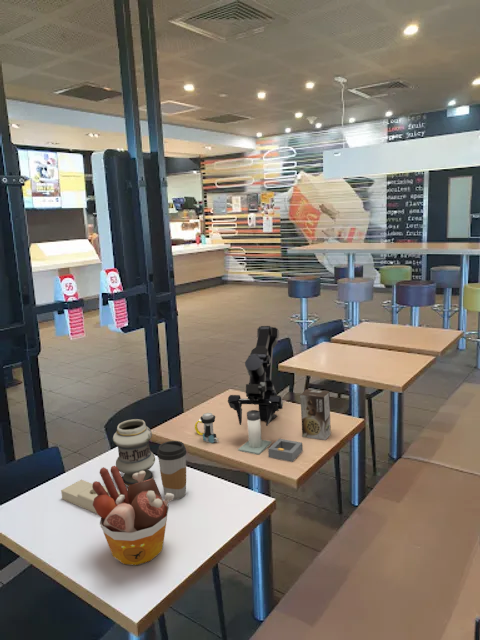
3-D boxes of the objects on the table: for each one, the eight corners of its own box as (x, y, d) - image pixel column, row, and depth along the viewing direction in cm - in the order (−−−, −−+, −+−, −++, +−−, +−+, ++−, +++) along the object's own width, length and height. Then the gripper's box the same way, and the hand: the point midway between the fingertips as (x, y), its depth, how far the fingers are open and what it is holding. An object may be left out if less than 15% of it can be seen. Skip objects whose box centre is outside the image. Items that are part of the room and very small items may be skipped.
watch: (211, 434, 188) (211, 419, 186) (208, 437, 185) (208, 422, 184) (197, 431, 190) (197, 416, 189) (193, 434, 188) (193, 419, 186)
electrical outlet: (80, 476, 153) (121, 491, 142) (82, 489, 153) (123, 505, 143) (60, 487, 147) (101, 504, 137) (62, 500, 148) (103, 517, 137)
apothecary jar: (110, 479, 157) (104, 425, 154) (142, 465, 166) (137, 413, 162) (131, 492, 149) (125, 435, 146) (164, 476, 157) (159, 422, 154)
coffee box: (331, 433, 182) (330, 391, 179) (325, 440, 176) (324, 396, 173) (307, 430, 186) (306, 388, 183) (301, 436, 181) (299, 394, 178)
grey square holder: (279, 446, 174) (279, 437, 173) (302, 450, 169) (302, 441, 169) (268, 457, 166) (268, 447, 166) (292, 461, 162) (292, 452, 162)
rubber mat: (251, 439, 181) (251, 437, 181) (271, 442, 177) (271, 441, 177) (238, 450, 172) (238, 449, 172) (259, 454, 168) (258, 453, 168)
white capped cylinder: (255, 440, 178) (253, 409, 175) (264, 444, 174) (262, 412, 172) (246, 445, 175) (244, 412, 172) (255, 449, 172) (252, 416, 169)
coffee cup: (178, 484, 152) (174, 437, 150) (195, 493, 146) (191, 445, 144) (155, 495, 147) (150, 447, 144) (172, 505, 141) (168, 455, 138)
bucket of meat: (190, 543, 123) (184, 468, 120) (144, 585, 110) (135, 502, 106) (131, 521, 134) (124, 452, 130) (82, 557, 120) (72, 480, 117)
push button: (222, 440, 181) (221, 414, 180) (213, 446, 177) (211, 419, 175) (208, 436, 185) (206, 410, 183) (199, 442, 181) (197, 415, 179)
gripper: (227, 373, 176) (222, 414, 167) (280, 373, 172) (277, 416, 163) (233, 387, 185) (228, 427, 176) (283, 387, 181) (281, 429, 172)
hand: (253, 424), depth 172 cm, fingers open, 9 cm apart
